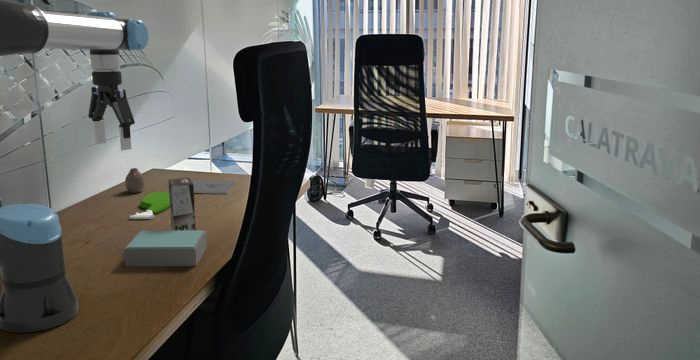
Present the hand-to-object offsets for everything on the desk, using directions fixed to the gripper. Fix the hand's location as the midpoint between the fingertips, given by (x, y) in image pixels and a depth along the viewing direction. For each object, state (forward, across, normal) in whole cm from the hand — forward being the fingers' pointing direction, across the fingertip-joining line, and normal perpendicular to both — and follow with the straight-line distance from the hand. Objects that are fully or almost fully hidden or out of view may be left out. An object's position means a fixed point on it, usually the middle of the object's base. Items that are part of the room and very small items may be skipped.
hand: (113, 146), depth 167 cm
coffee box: (+27, -12, -13) cm, 32 cm away
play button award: (+28, +26, -50) cm, 63 cm away
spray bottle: (+27, +17, -22) cm, 39 cm away
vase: (+27, +41, -30) cm, 57 cm away
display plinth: (+26, -24, +1) cm, 36 cm away
